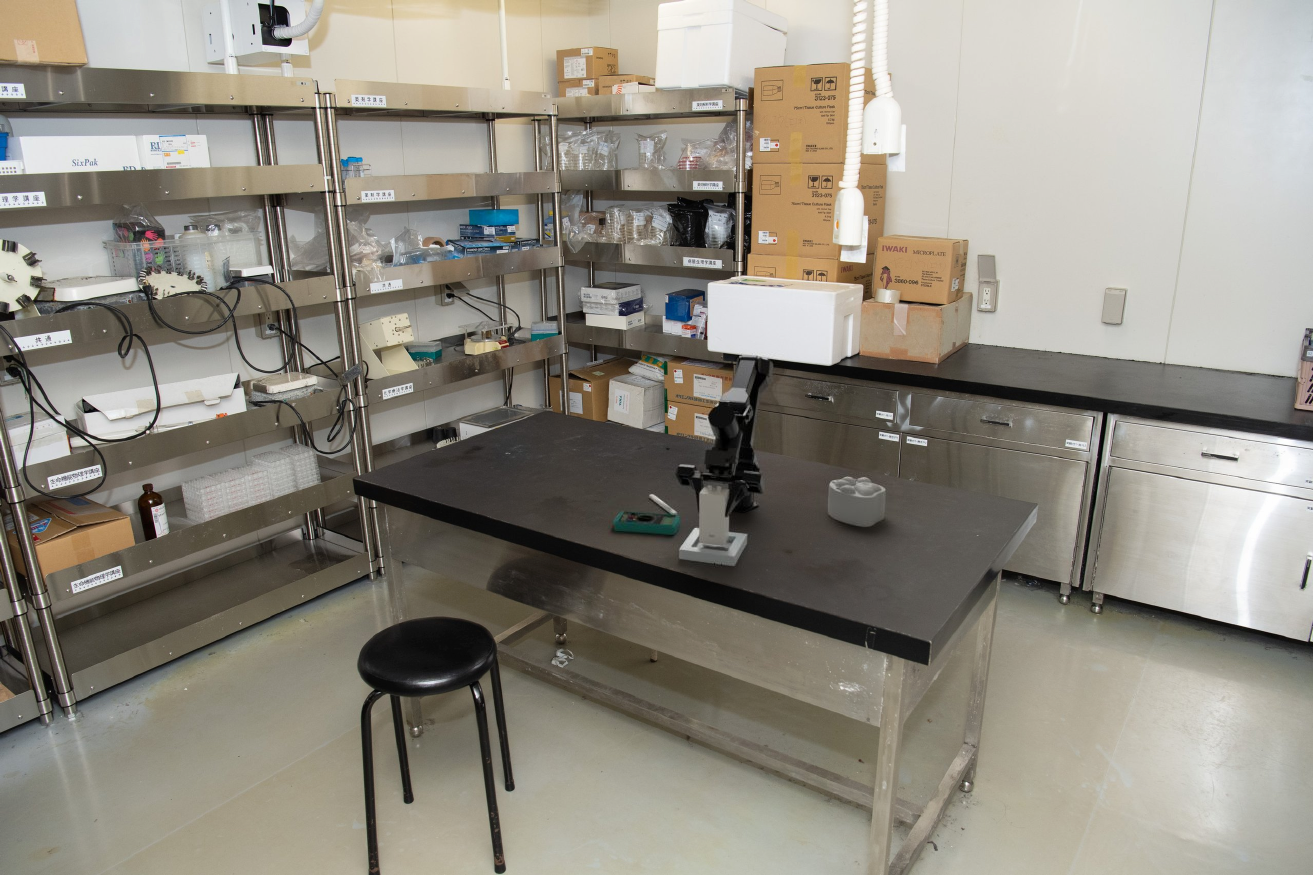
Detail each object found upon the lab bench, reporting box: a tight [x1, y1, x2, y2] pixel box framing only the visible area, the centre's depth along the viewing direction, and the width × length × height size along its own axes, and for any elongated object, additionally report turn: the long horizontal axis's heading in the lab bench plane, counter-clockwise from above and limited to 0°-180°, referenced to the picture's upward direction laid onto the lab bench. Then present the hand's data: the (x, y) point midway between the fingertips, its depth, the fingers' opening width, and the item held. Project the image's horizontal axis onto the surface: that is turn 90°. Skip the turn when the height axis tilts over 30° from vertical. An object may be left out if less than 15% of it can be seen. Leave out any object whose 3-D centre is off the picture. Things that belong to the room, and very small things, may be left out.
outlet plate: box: [678, 527, 748, 567], centre depth 187 cm, size 12×12×2 cm
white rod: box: [649, 493, 678, 515], centre depth 212 cm, size 13×1×1 cm, turn 26°
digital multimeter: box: [613, 510, 681, 536], centre depth 200 cm, size 7×15×3 cm, turn 78°
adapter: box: [698, 484, 730, 546], centre depth 185 cm, size 4×6×13 cm
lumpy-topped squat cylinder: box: [827, 476, 887, 528], centre depth 205 cm, size 10×13×9 cm
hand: (712, 515), depth 184 cm, fingers closed on adapter, 5 cm apart
